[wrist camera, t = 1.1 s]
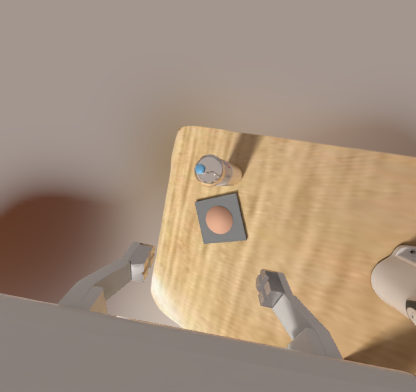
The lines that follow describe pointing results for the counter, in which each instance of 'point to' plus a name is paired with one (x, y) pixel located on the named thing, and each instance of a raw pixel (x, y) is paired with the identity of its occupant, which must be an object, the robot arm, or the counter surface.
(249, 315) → the counter surface
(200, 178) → the water bottle
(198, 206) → the spot mat
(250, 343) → the robot arm
